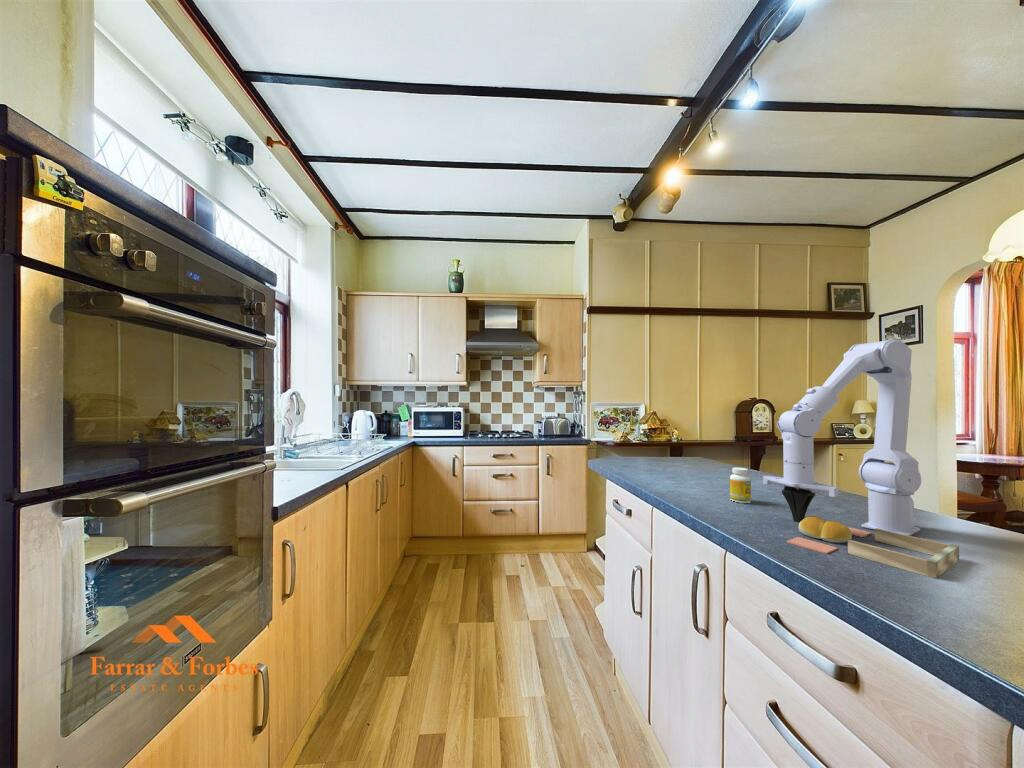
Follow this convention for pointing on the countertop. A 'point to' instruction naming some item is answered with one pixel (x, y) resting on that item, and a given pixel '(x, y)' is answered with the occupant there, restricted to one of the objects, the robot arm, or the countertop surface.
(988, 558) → the countertop surface
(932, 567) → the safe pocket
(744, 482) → the supplement bottle
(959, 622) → the countertop surface
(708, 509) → the countertop surface
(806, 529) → the bread roll
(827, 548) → the mats
